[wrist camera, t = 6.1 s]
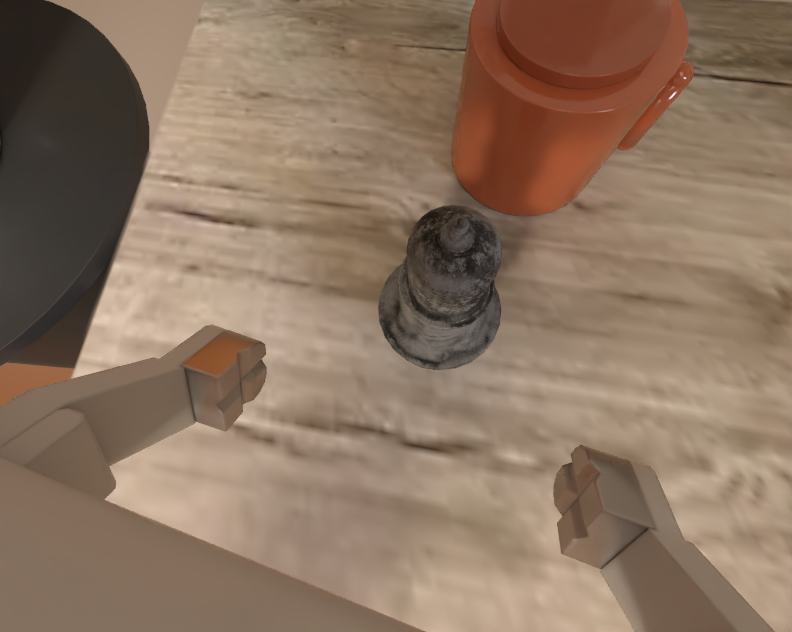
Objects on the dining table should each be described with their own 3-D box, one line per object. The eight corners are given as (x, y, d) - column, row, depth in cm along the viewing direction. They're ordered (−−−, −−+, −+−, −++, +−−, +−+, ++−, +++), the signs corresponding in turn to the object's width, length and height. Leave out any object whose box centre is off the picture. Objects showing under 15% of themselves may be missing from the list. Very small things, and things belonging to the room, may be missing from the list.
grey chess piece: (415, 394, 19) (414, 384, 8) (367, 304, 21) (305, 181, 9) (506, 343, 20) (637, 262, 8) (453, 259, 21) (500, 85, 9)
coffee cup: (443, 207, 22) (460, 89, 14) (459, 90, 24) (483, -75, 16) (616, 227, 21) (749, 113, 13) (619, 104, 23) (735, -65, 15)
